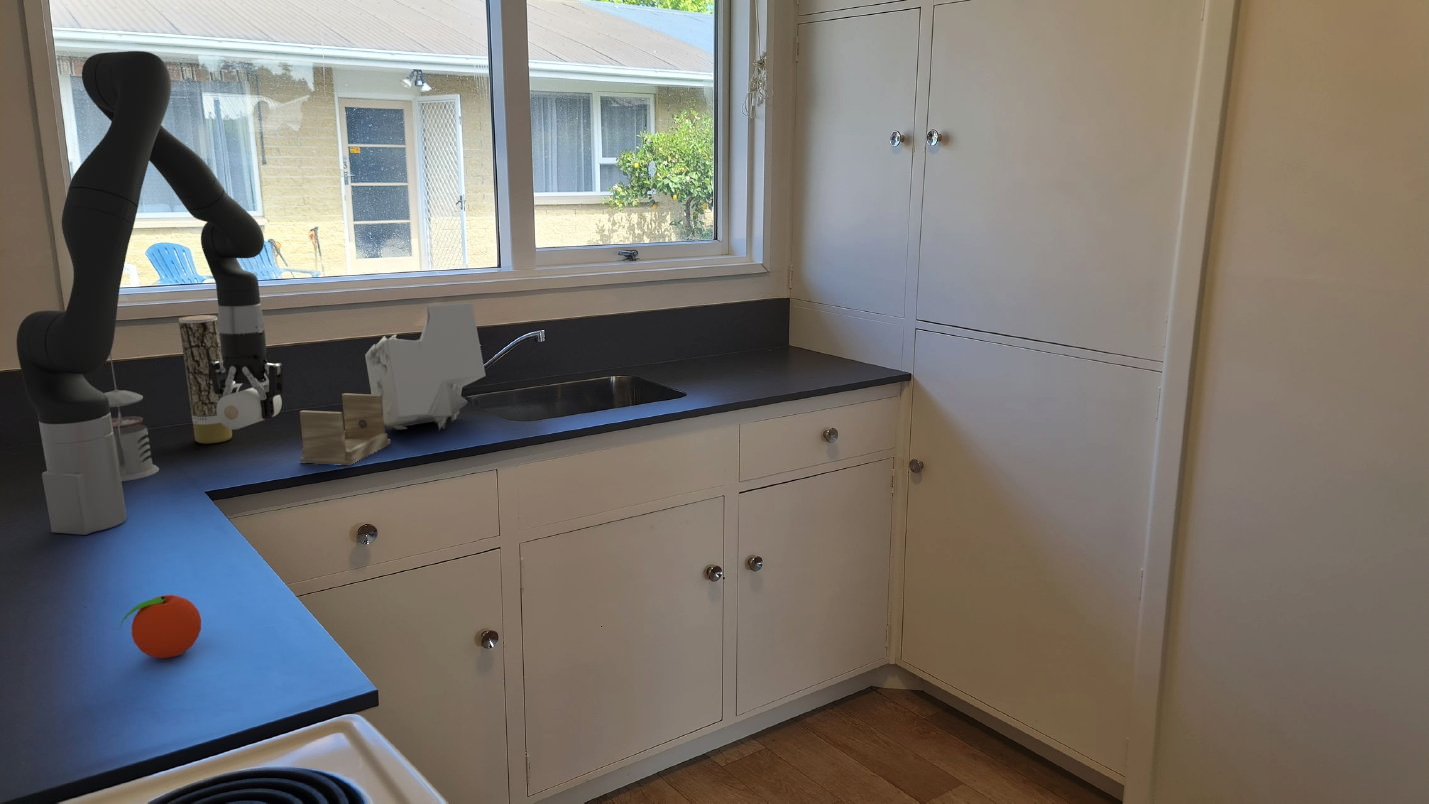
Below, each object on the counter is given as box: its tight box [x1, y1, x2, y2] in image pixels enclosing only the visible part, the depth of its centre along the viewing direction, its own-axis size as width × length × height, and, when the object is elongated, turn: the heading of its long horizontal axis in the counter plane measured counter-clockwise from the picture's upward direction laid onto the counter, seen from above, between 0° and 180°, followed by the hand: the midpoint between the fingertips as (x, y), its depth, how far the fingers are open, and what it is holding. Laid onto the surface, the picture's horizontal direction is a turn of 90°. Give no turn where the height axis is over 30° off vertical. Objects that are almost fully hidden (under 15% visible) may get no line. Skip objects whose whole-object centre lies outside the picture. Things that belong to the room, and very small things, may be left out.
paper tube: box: [178, 314, 233, 445], centre depth 196 cm, size 7×7×25 cm
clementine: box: [118, 594, 202, 659], centre depth 111 cm, size 8×7×7 cm
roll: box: [216, 387, 283, 430], centre depth 184 cm, size 11×6×6 cm, turn 169°
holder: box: [299, 392, 392, 465], centre depth 188 cm, size 15×10×10 cm, turn 169°
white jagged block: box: [364, 301, 487, 431], centre depth 205 cm, size 20×16×25 cm
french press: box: [103, 339, 160, 482], centre depth 175 cm, size 10×12×25 cm
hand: (251, 417), depth 184 cm, fingers closed on roll, 6 cm apart
